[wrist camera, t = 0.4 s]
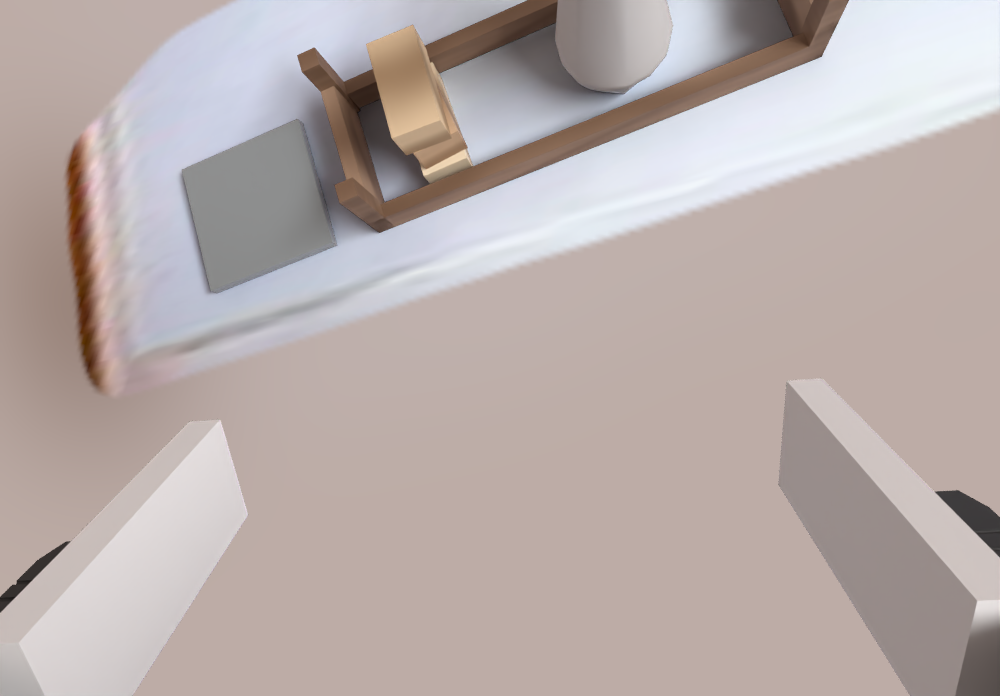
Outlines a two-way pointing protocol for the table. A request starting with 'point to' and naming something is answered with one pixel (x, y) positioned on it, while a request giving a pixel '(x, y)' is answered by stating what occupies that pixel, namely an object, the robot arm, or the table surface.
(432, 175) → the offcut
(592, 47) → the salt shaker
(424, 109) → the offcut
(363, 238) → the table surface
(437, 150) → the offcut
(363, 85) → the open rectangular wooden frame
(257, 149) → the coaster
